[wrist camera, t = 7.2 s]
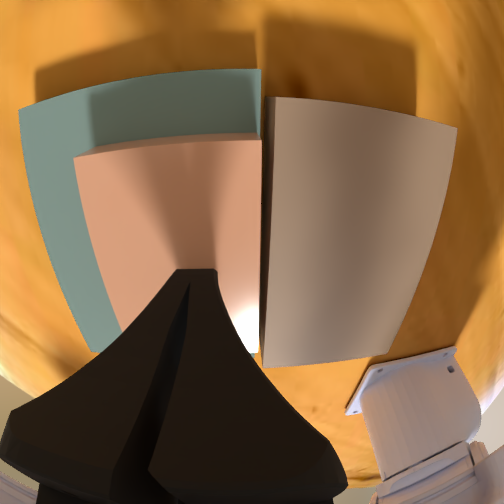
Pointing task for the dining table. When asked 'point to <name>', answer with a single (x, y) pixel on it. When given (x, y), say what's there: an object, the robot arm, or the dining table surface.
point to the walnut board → (344, 226)
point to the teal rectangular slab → (109, 132)
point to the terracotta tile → (176, 218)
